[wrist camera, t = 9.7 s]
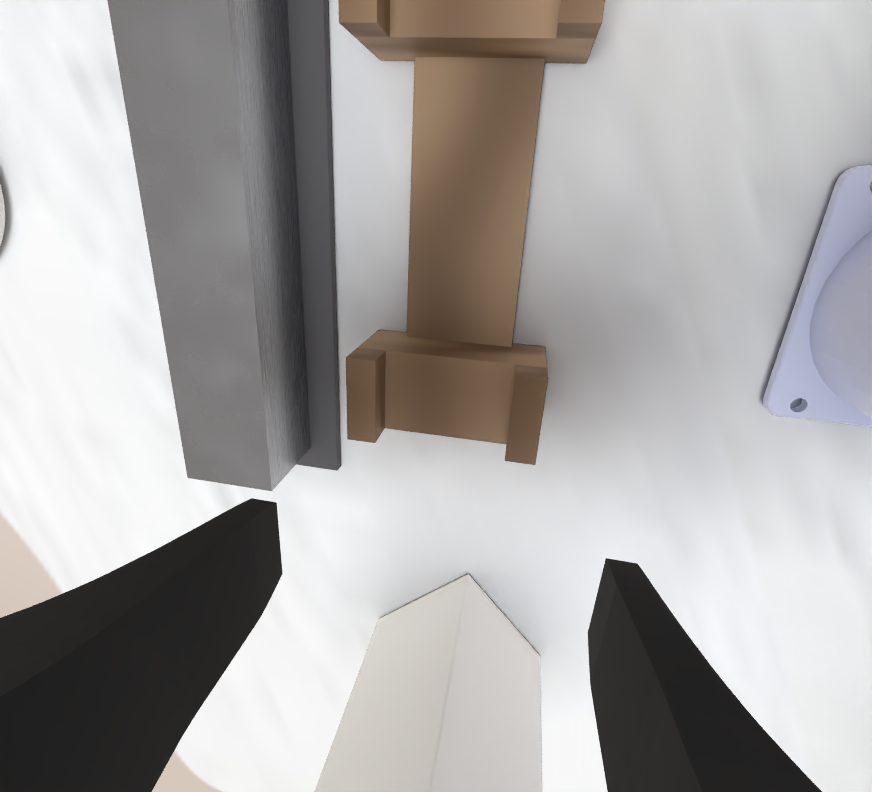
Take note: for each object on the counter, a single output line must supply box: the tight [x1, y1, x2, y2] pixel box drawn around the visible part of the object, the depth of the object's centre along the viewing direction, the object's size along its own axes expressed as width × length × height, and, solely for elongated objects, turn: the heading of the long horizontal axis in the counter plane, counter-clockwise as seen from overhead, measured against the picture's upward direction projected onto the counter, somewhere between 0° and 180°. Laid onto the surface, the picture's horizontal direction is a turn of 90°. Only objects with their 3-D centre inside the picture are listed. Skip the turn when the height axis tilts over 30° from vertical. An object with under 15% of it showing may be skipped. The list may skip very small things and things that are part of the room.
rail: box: [108, 0, 311, 491], centre depth 16 cm, size 4×20×4 cm, turn 177°
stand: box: [339, 0, 605, 465], centre depth 15 cm, size 6×16×4 cm, turn 177°
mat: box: [287, 0, 341, 470], centre depth 18 cm, size 6×22×1 cm, turn 177°
